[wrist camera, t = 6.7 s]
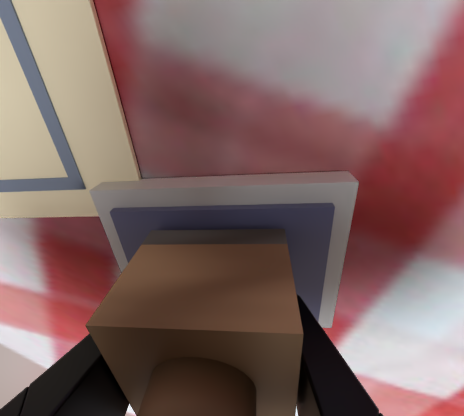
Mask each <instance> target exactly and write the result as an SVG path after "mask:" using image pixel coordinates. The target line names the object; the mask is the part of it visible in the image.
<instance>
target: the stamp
mask: <svg viewBox="0 0 464 416" xmlns="http://www.w3.org/2000/svg"><path fill="white" fill-rule="evenodd" d="M85 326H86V328H87V329H88V331H89V333H90V335H91V336H92V338H93V340H94V342H95V343H96V345H97V347H98V349H99V350H100V352H101V354H102V356H103V357H104V359H105V361H106V363H107V365H108V366H109V368H110V370H111V372H112V373H113V375H114V377H115V379H116V380H117V382H118V384H119V386H120V387H121V389H122V391H123V393H124V394H125V396H126V398H127V400H128V401H129V403H130V405H131V407H132V409H133V410H134V412H135V414H136V416H295V411H296V401H297V392H298V382H299V372H300V363H301V353H302V344H303V328H302V323H301V317H300V312H299V306H298V300H297V295H296V289H295V284H294V278H293V273H292V267H291V261H290V256H289V250H288V245H287V239H286V233H285V229H226V230H151V231H150V233H149V234H148V236H147V237H146V239H145V240H144V242H143V243H142V244H141V246H140V247H139V249H138V250H137V252H136V253H135V255H134V256H133V257H132V259H131V260H130V262H129V263H128V265H127V266H126V268H125V269H124V270H123V272H122V273H121V275H120V276H119V278H118V279H117V281H116V282H115V283H114V285H113V286H112V288H111V289H110V291H109V292H108V294H107V295H106V296H105V298H104V299H103V301H102V302H101V304H100V305H99V307H98V308H97V309H96V311H95V312H94V314H93V315H92V317H91V318H90V320H89V321H88V322H87V324H86V325H85Z"/></svg>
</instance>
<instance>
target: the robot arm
mask: <svg viewBox="0 0 464 416" xmlns="http://www.w3.org/2000/svg"><path fill="white" fill-rule="evenodd" d="M296 295H297V294H296ZM297 300H298V306H299V312H300V317H301V323H302V328H303V344H302V353H301V363H300V372H299V382H298V392H297V401H296V406H297V411H298V416H383V415H382V414H381V413H379V409H378V408H377V406H376V405H375V403H374V402H373V400H372V399H371V398H370V396H369V395H368V393H367V392H366V390H365V389H364V387H363V386H362V385H361V383H360V382H359V380H358V379H357V377H356V376H355V374H354V373H353V372H352V370H351V369H350V367H349V366H348V364H347V363H346V362H345V360H344V359H343V357H342V356H341V354H340V353H339V351H338V350H337V349H336V347H335V346H334V344H333V343H332V341H331V340H330V338H329V337H328V336H327V334H326V333H325V331H324V330H323V328H322V327H321V326H320V324H319V323H318V321H317V320H316V318H315V317H314V315H313V314H312V313H311V311H310V310H309V308H308V307H307V305H306V304H305V303H304V301H303V300H302V298H301V297H300V296H299V295H297ZM128 406H129V401H128V400H127V398H126V396H125V394H124V393H123V391H122V389H121V387H120V386H119V384H118V382H117V380H116V379H115V377H114V375H113V373H112V372H111V370H110V368H109V366H108V365H107V363H106V361H105V359H104V357H103V356H102V354H101V352H100V350H99V349H98V347H97V345H96V343H95V342H94V340H93V338H92V336H91V335H90V334H89V335H87V336H86V337H85V338H84V339H83V340H82V341H80V342H79V343H78V344H77V345H76V346H75V347H73V348H72V349H71V350H70V351H69V352H67V353H66V354H65V355H64V356H63V357H62V358H60V359H59V360H58V361H57V362H56V363H55V364H53V365H52V366H51V367H50V368H49V369H47V370H46V371H45V372H44V373H43V374H42V375H40V376H39V377H38V378H37V379H36V380H35V381H33V382H32V383H31V384H30V386H29V387H26V388H25V389H24V390H23V391H22V392H20V393H19V394H18V395H17V396H16V397H14V398H13V399H12V400H11V401H10V402H8V403H7V404H6V405H5V406H4V407H3V408H1V409H0V416H125V414H126V411H127V408H128Z"/></svg>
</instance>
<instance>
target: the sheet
mask: <svg viewBox="0 0 464 416" xmlns="http://www.w3.org/2000/svg"><path fill="white" fill-rule="evenodd" d="M140 180H141V175H140V171H139V168H138V164H137V160H136V156H135V153H134V149H133V145H132V142H131V138H130V134H129V131H128V127H127V123H126V120H125V116H124V112H123V109H122V105H121V101H120V98H119V94H118V90H117V87H116V83H115V79H114V75H113V72H112V68H111V64H110V61H109V57H108V53H107V50H106V46H105V42H104V39H103V35H102V31H101V28H100V24H99V20H98V17H97V13H96V9H95V6H94V2H93V0H0V218H40V217H92V216H99V215H98V212H97V210H96V207H95V205H94V202H93V200H92V197H91V194H90V192H89V191H90V190H91V189H93V188H94V187H96V186H97V185H99V184H100V183H101V182H119V181H140Z"/></svg>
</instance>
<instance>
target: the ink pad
mask: <svg viewBox="0 0 464 416" xmlns="http://www.w3.org/2000/svg"><path fill="white" fill-rule="evenodd" d="M358 185H359V181H358V180H357V179H356V178H355V177H354V176H353V175H352V174H351V173H350V172H349V171H331V172H305V173H278V174H252V175H226V176H200V177H174V178H148V179H141V180H140V181H119V182H101V183H100V184H99V185H97V186H96V187H94V188H93V189H91V190H90V191H89V192H90V194H91V197H92V200H93V202H94V205H95V207H96V210H97V212H98V215H99V217H100V220H101V222H102V225H103V228H104V230H105V233H106V235H107V238H108V240H109V243H110V245H111V248H112V250H113V253H114V256H115V258H116V261H117V263H118V266H119V268H120V271H121V273H122V272H123V270H124V269H125V268H126V266H127V265H128V263H129V262H130V260H131V259H132V257H133V256H134V255H135V253H136V252H137V250H138V249H139V247H140V246H141V244H142V243H143V242H144V240H145V239H146V237H147V236H148V234H149V233H150V231H151V230H226V229H285V233H286V239H287V245H288V250H289V256H290V261H291V267H292V273H293V278H294V284H295V289H296V294H297V295H299V296H300V297H301V298H302V300H303V301H304V303H305V304H306V305H307V307H308V308H309V310H310V311H311V313H312V314H313V315H314V317H315V318H316V320H317V321H318V323H319V324H320V326H321V327H322V328H332V322H333V317H334V312H335V307H336V301H337V296H338V291H339V285H340V280H341V275H342V269H343V264H344V259H345V254H346V248H347V243H348V238H349V232H350V227H351V222H352V217H353V211H354V206H355V201H356V195H357V190H358Z"/></svg>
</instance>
